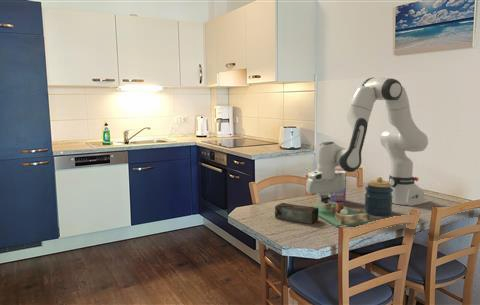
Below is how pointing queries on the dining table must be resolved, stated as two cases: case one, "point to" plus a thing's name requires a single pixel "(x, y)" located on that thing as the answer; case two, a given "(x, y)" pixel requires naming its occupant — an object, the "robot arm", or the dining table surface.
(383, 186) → the canister
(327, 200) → the rod
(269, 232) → the dining table surface
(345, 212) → the ball
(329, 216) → the pitch
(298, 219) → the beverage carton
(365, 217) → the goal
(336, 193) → the candy box
